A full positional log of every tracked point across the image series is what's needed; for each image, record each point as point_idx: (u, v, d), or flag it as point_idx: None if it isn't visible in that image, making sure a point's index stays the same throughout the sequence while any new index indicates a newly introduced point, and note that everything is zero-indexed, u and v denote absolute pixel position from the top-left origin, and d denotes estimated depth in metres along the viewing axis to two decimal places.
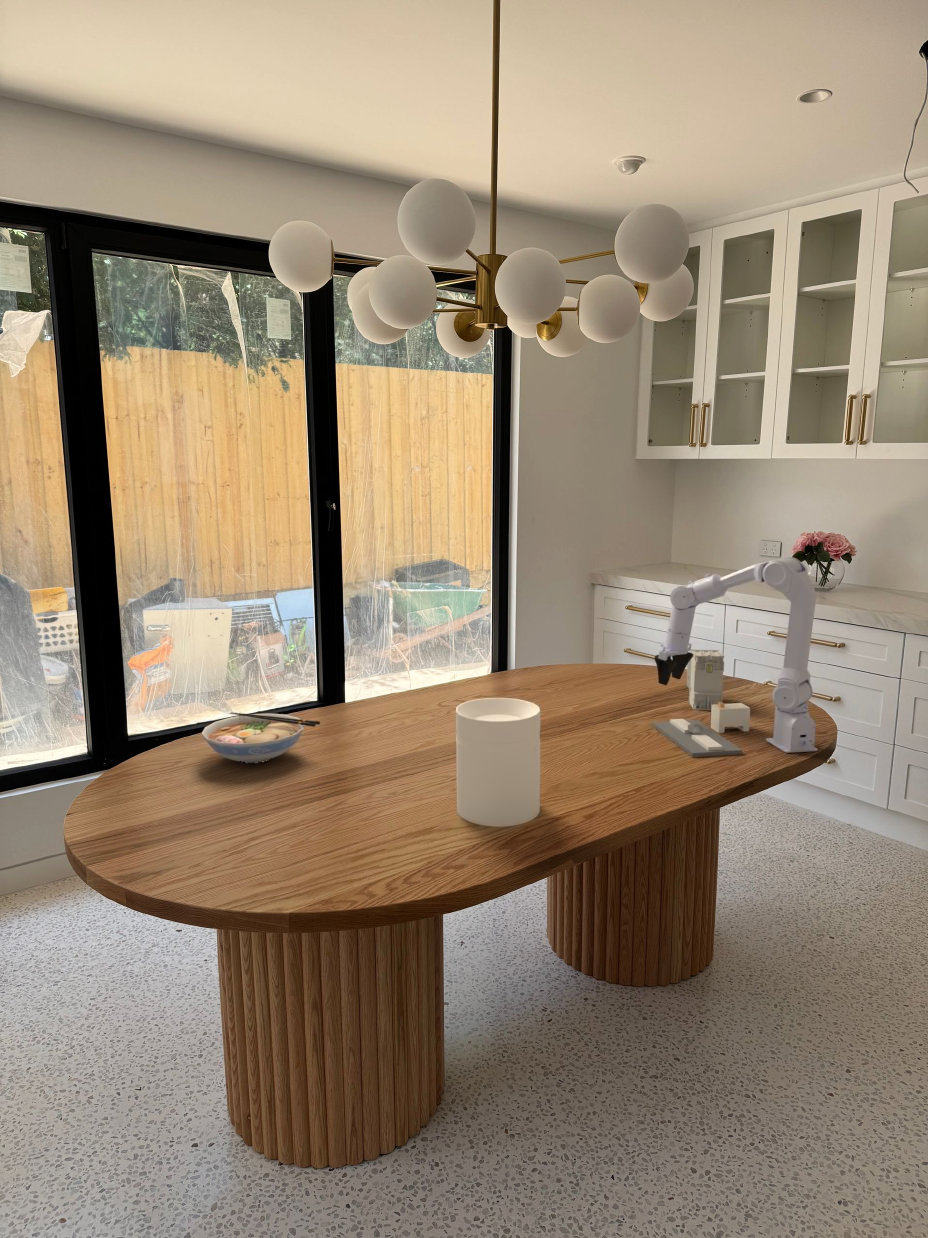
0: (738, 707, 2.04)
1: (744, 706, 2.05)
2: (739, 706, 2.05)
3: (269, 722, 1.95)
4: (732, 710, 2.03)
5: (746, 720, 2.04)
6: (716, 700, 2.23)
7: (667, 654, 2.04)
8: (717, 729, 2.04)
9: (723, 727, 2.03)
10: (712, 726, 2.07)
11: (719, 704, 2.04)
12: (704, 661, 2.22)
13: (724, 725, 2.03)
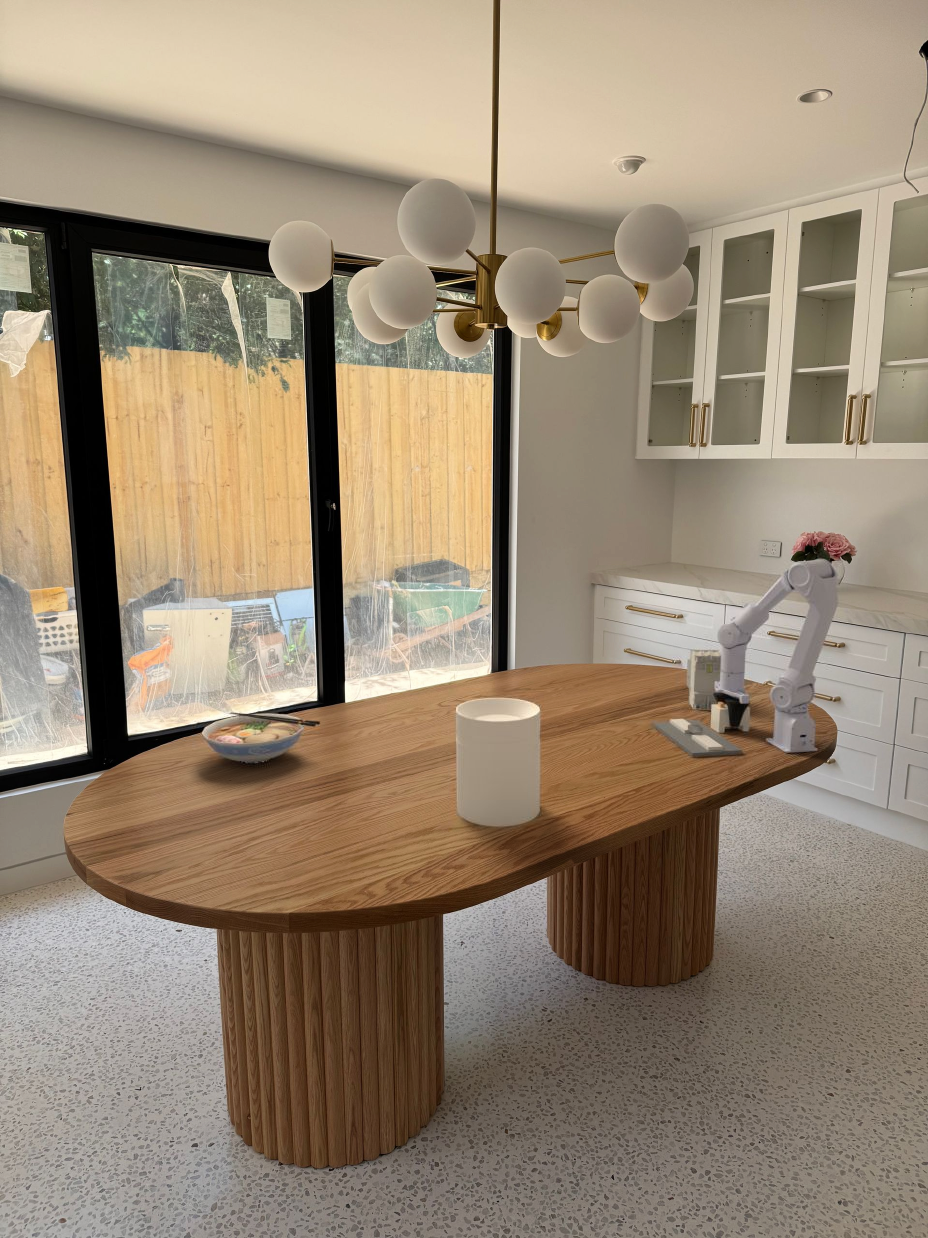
0: None
1: None
2: None
3: (269, 722, 1.95)
4: None
5: (746, 720, 2.04)
6: None
7: None
8: (717, 729, 2.04)
9: (723, 727, 2.03)
10: (712, 726, 2.07)
11: (719, 704, 2.04)
12: (704, 661, 2.22)
13: (723, 725, 2.03)
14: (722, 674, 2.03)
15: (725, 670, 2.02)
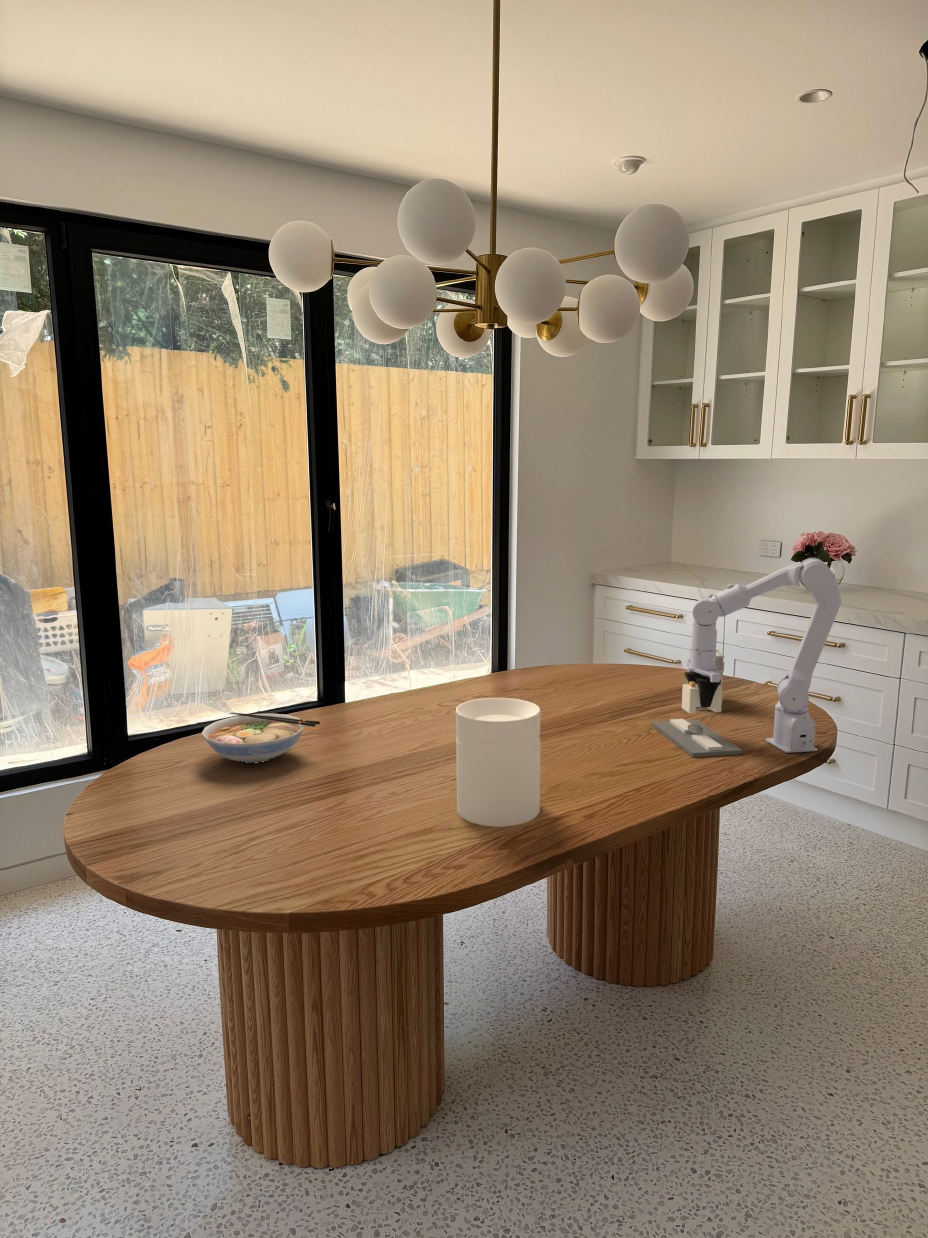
0: None
1: None
2: None
3: (269, 722, 1.95)
4: None
5: (718, 700, 1.96)
6: None
7: None
8: (688, 709, 1.96)
9: (694, 707, 1.96)
10: (683, 706, 1.99)
11: (690, 683, 1.97)
12: None
13: (694, 706, 1.96)
14: (693, 652, 1.95)
15: (703, 649, 1.93)
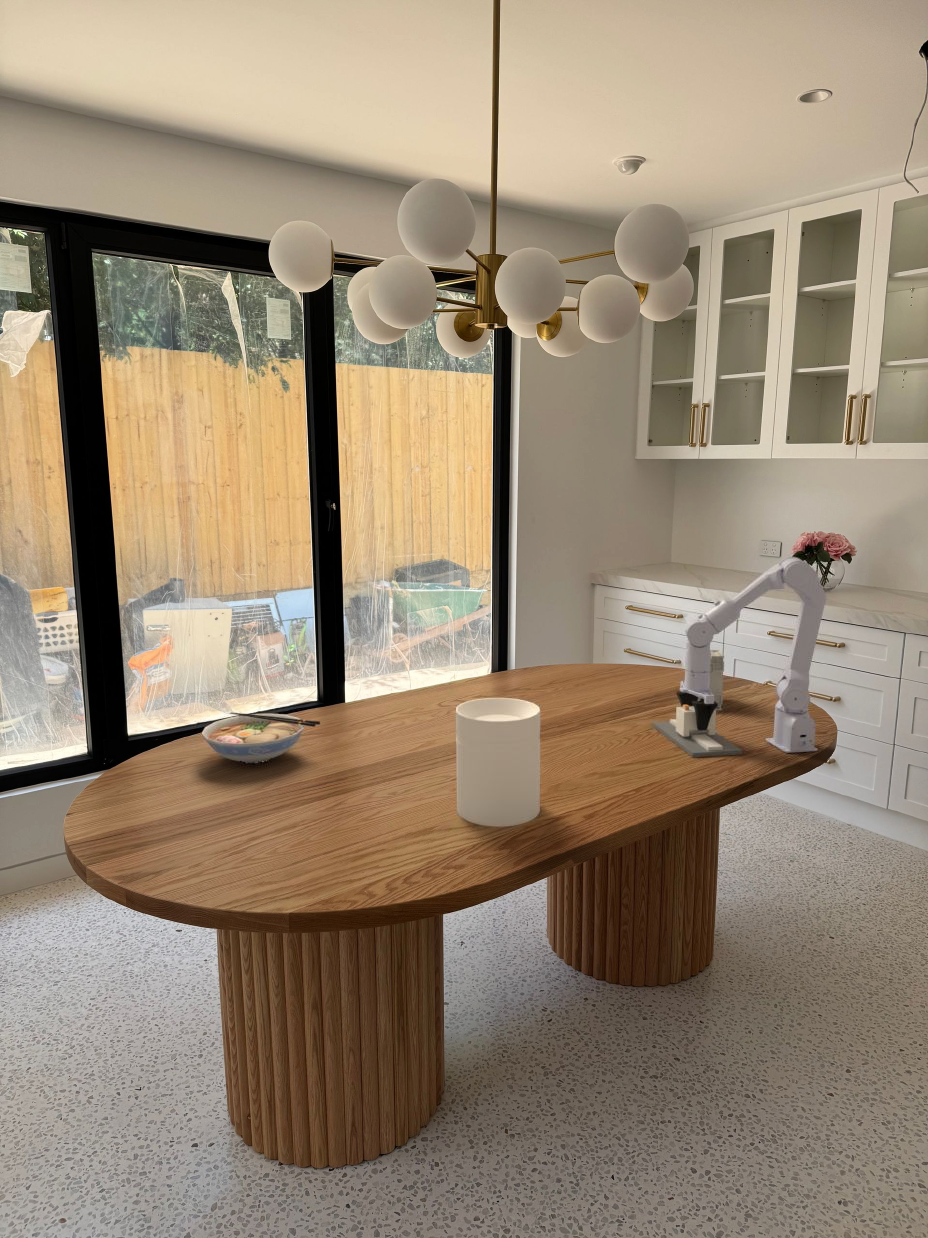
0: None
1: None
2: None
3: (269, 722, 1.95)
4: None
5: (712, 723, 1.96)
6: (716, 700, 2.23)
7: None
8: (682, 733, 1.96)
9: (688, 730, 1.95)
10: (677, 729, 1.99)
11: (684, 707, 1.97)
12: None
13: (688, 729, 1.95)
14: (687, 673, 1.95)
15: (697, 670, 1.93)
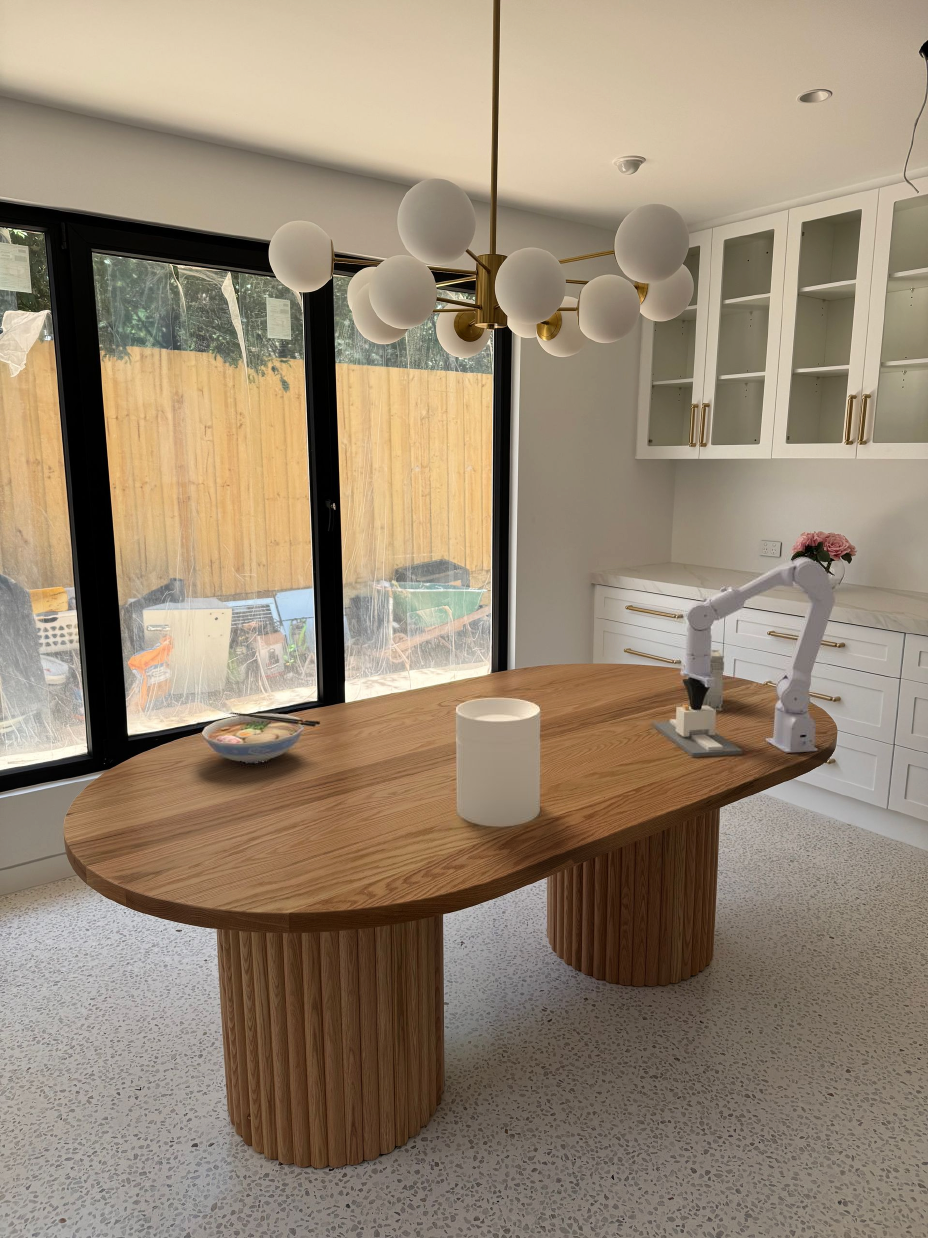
0: (704, 710, 1.96)
1: (710, 709, 1.97)
2: (705, 709, 1.97)
3: (269, 722, 1.95)
4: (697, 713, 1.95)
5: (712, 723, 1.96)
6: (716, 700, 2.23)
7: None
8: (682, 733, 1.96)
9: (688, 731, 1.95)
10: (677, 729, 1.99)
11: (684, 707, 1.97)
12: None
13: (688, 729, 1.95)
14: (687, 657, 1.94)
15: (698, 653, 1.92)
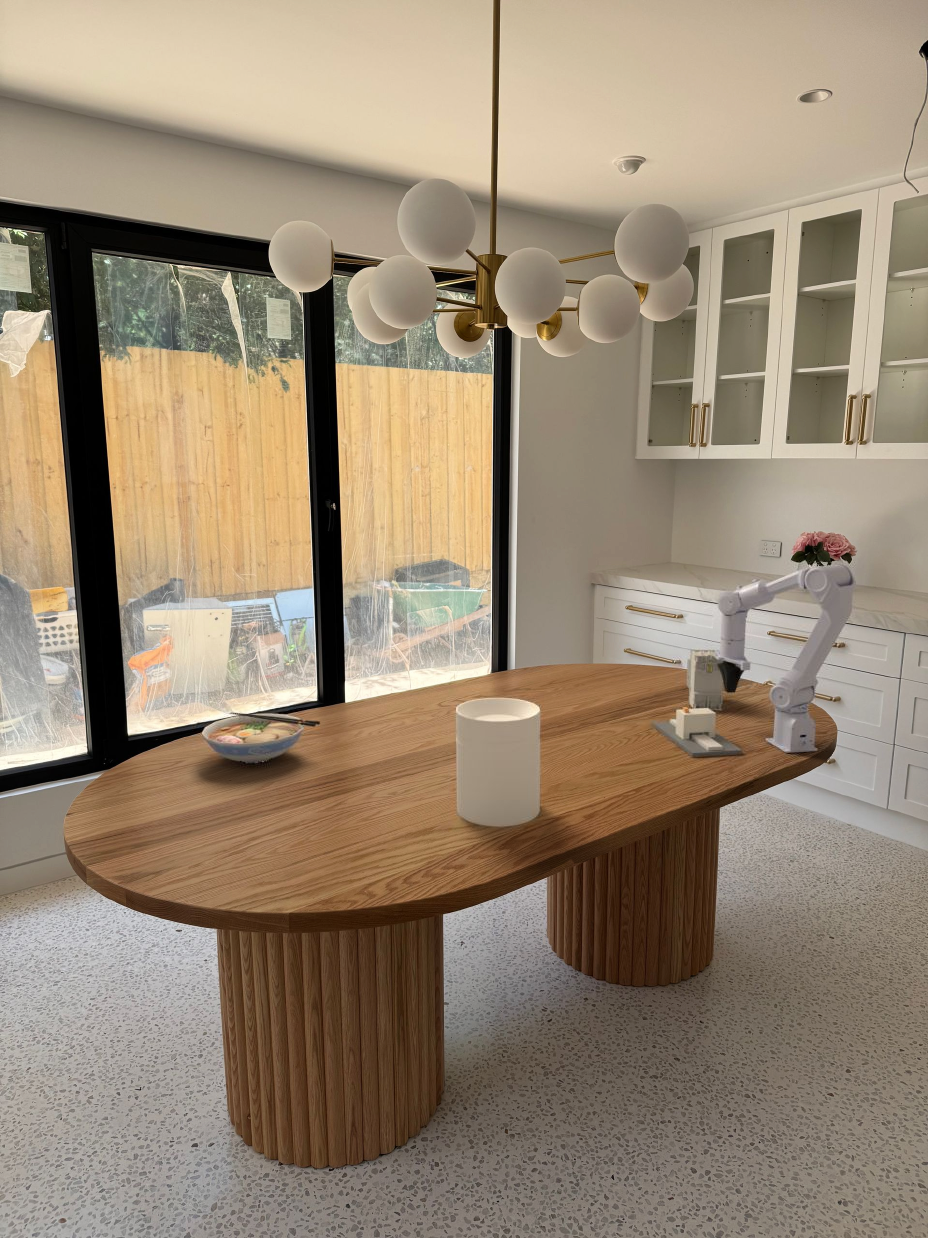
0: (703, 712, 1.96)
1: (710, 711, 1.97)
2: (704, 712, 1.97)
3: (269, 722, 1.95)
4: (697, 715, 1.95)
5: (711, 726, 1.96)
6: (716, 700, 2.23)
7: None
8: (681, 735, 1.96)
9: (688, 733, 1.96)
10: (677, 732, 1.99)
11: (684, 709, 1.97)
12: (704, 661, 2.22)
13: (688, 731, 1.96)
14: (722, 642, 2.02)
15: (725, 637, 2.02)
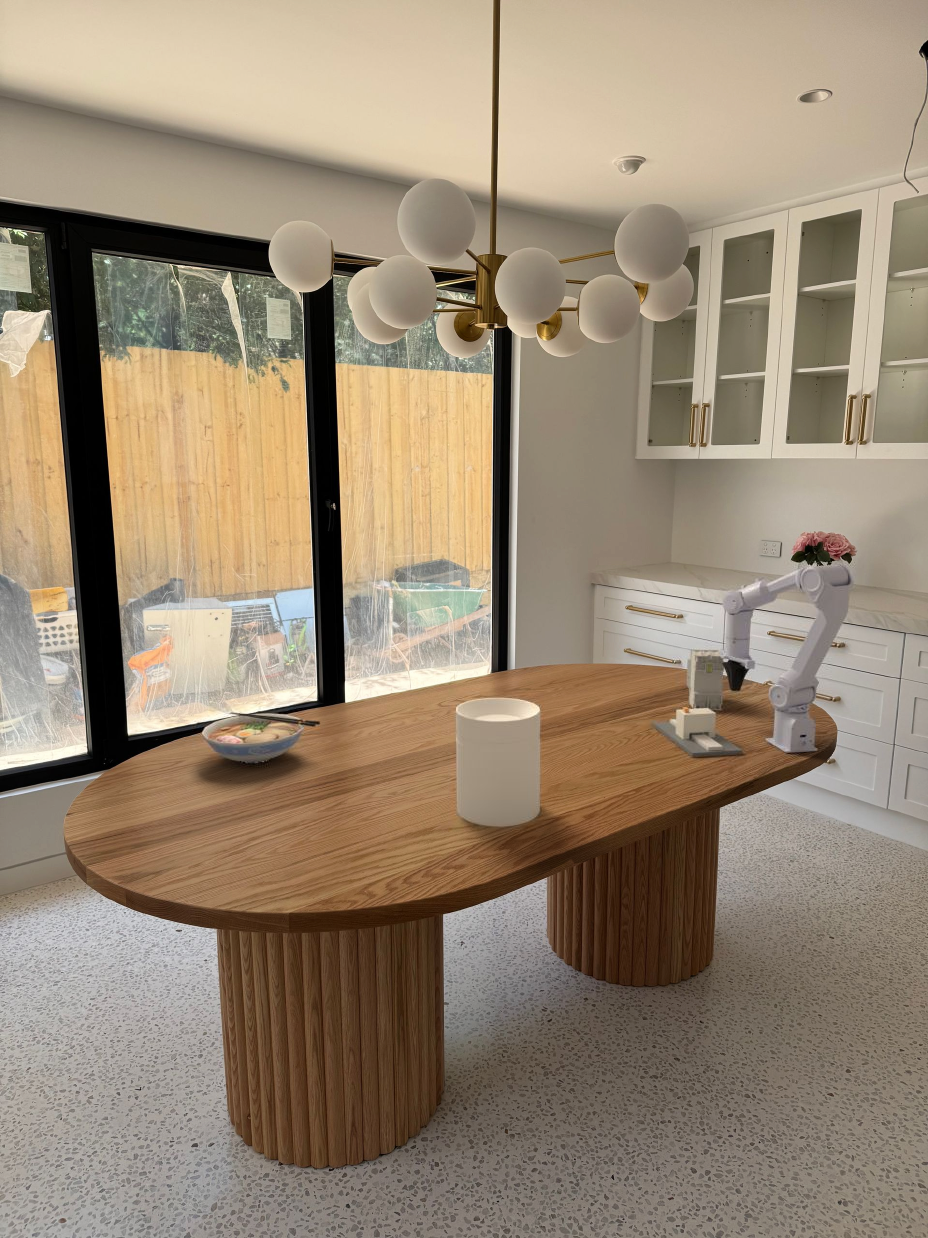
0: (703, 712, 1.96)
1: (710, 711, 1.97)
2: (704, 712, 1.97)
3: (269, 722, 1.95)
4: (697, 715, 1.95)
5: (711, 726, 1.96)
6: (716, 700, 2.23)
7: None
8: (681, 735, 1.96)
9: (688, 733, 1.96)
10: (677, 732, 1.99)
11: (684, 709, 1.97)
12: (704, 661, 2.22)
13: (688, 731, 1.96)
14: (727, 640, 2.04)
15: (729, 636, 2.03)
